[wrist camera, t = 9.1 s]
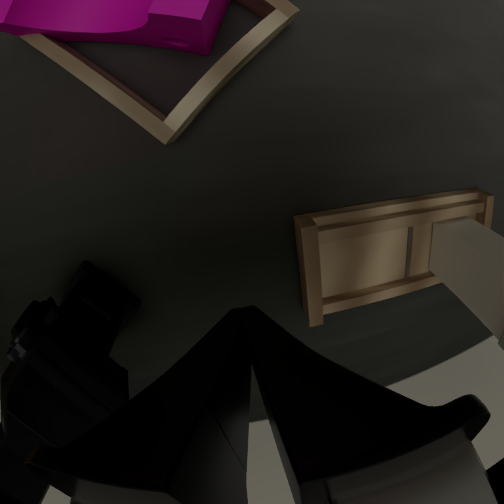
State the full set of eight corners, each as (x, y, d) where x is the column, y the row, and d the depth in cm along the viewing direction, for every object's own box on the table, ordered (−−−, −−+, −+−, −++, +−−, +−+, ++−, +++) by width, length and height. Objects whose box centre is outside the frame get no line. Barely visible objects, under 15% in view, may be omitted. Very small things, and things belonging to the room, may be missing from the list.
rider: (427, 270, 24) (503, 350, 13) (432, 220, 22) (527, 290, 11) (461, 260, 24) (535, 327, 13) (467, 213, 22) (556, 272, 11)
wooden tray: (303, 309, 26) (309, 327, 24) (292, 216, 22) (300, 228, 20) (467, 265, 26) (481, 276, 24) (477, 188, 22) (494, 195, 20)
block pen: (175, 141, 19) (165, 144, 16) (16, 25, 12) (-6, 19, 9) (288, 25, 16) (299, 9, 13) (105, -72, 9) (92, -88, 6)
